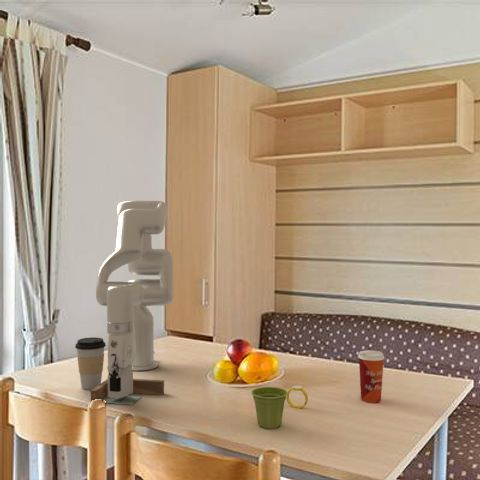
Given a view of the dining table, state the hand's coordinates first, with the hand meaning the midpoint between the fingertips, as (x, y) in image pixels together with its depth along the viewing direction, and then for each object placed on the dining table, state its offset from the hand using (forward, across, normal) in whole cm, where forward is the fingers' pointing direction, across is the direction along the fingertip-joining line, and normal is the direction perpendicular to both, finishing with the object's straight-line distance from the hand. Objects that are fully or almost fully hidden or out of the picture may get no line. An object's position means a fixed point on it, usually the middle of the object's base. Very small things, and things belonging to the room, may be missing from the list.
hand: (120, 386), depth 166 cm
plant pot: (+4, -12, -46) cm, 47 cm away
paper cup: (+4, +13, -72) cm, 74 cm away
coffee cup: (+4, +11, +14) cm, 19 cm away
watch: (+4, +3, -52) cm, 52 cm away
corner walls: (+4, +2, -2) cm, 5 cm away
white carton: (+3, 0, 0) cm, 3 cm away
